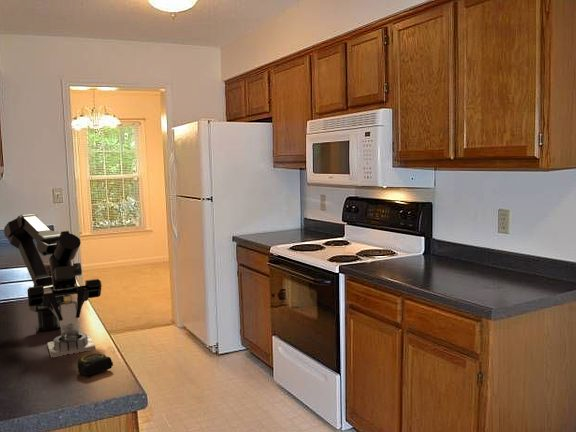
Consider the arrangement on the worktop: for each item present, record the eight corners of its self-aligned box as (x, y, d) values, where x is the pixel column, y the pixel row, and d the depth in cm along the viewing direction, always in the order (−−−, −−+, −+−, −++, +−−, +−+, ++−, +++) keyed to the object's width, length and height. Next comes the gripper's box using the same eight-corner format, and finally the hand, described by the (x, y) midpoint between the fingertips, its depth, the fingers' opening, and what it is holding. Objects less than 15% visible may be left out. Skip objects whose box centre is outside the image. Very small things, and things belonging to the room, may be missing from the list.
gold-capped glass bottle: (60, 340, 149) (57, 295, 148) (78, 337, 151) (75, 293, 150) (62, 344, 145) (58, 299, 144) (80, 341, 147) (77, 296, 146)
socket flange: (47, 345, 151) (46, 336, 150) (89, 338, 156) (88, 328, 155) (51, 357, 141) (50, 347, 141) (95, 349, 146) (94, 339, 146)
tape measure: (86, 380, 126) (84, 365, 125) (73, 373, 130) (72, 358, 130) (113, 371, 130) (112, 356, 130) (100, 364, 135) (99, 350, 135)
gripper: (24, 258, 145) (30, 308, 136) (98, 250, 154) (107, 297, 145) (25, 281, 153) (31, 330, 144) (95, 273, 161) (104, 318, 153)
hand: (69, 318), depth 146 cm, fingers closed on gold-capped glass bottle, 4 cm apart
